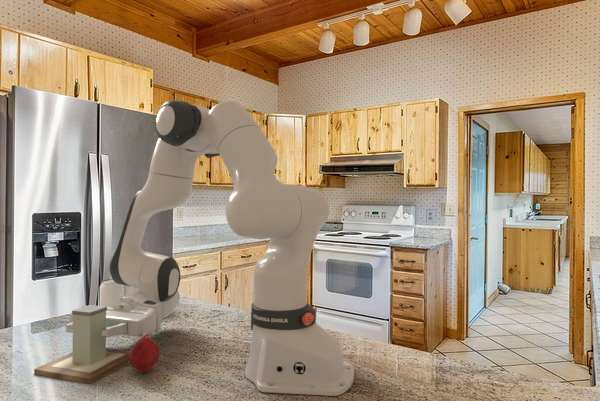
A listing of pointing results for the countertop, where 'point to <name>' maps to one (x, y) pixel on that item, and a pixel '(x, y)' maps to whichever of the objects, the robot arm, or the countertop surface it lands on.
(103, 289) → the can
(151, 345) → the onion
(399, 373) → the countertop surface
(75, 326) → the tea tin
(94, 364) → the board
